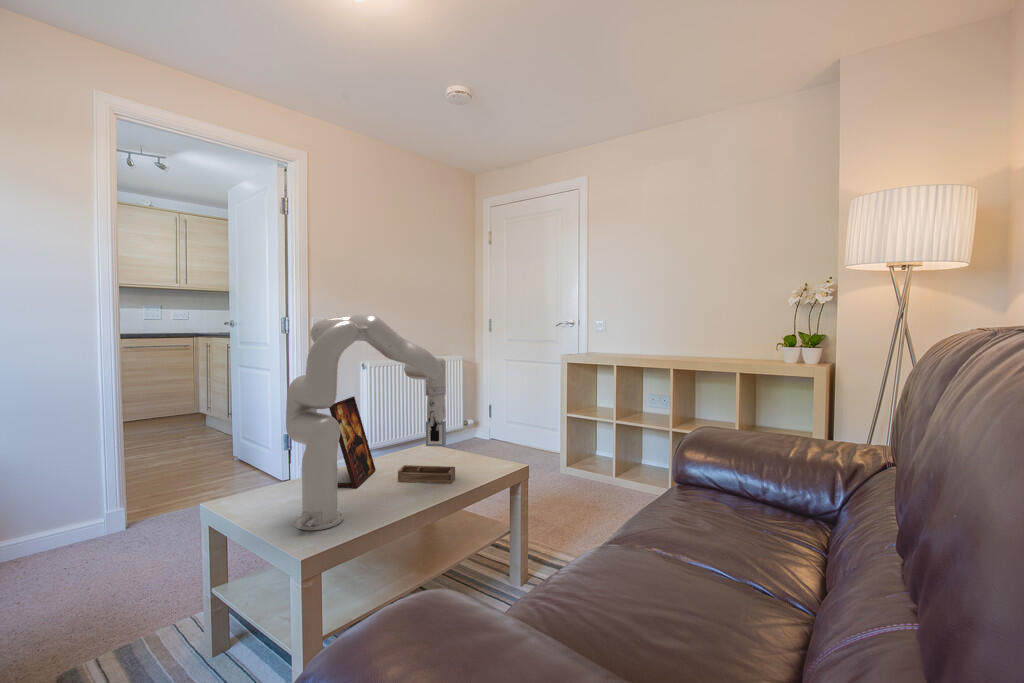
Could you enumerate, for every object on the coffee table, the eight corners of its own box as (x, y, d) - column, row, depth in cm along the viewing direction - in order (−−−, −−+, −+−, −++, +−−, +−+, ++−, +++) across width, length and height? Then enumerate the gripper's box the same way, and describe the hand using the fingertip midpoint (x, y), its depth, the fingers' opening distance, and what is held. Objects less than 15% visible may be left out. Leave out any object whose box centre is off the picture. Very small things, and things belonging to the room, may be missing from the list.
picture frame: (357, 488, 163) (356, 404, 163) (327, 488, 163) (327, 404, 163) (375, 471, 184) (375, 396, 184) (349, 470, 184) (349, 396, 184)
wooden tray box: (450, 483, 169) (450, 472, 168) (397, 481, 170) (397, 470, 170) (455, 477, 175) (455, 466, 175) (404, 476, 177) (404, 465, 177)
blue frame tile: (444, 446, 171) (444, 422, 171) (425, 446, 171) (425, 422, 171) (445, 445, 173) (445, 421, 173) (427, 444, 174) (427, 420, 174)
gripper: (439, 394, 163) (440, 445, 164) (450, 388, 180) (450, 435, 180) (419, 393, 164) (419, 445, 165) (431, 388, 180) (431, 435, 181)
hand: (435, 439), depth 172 cm, fingers closed on blue frame tile, 2 cm apart
